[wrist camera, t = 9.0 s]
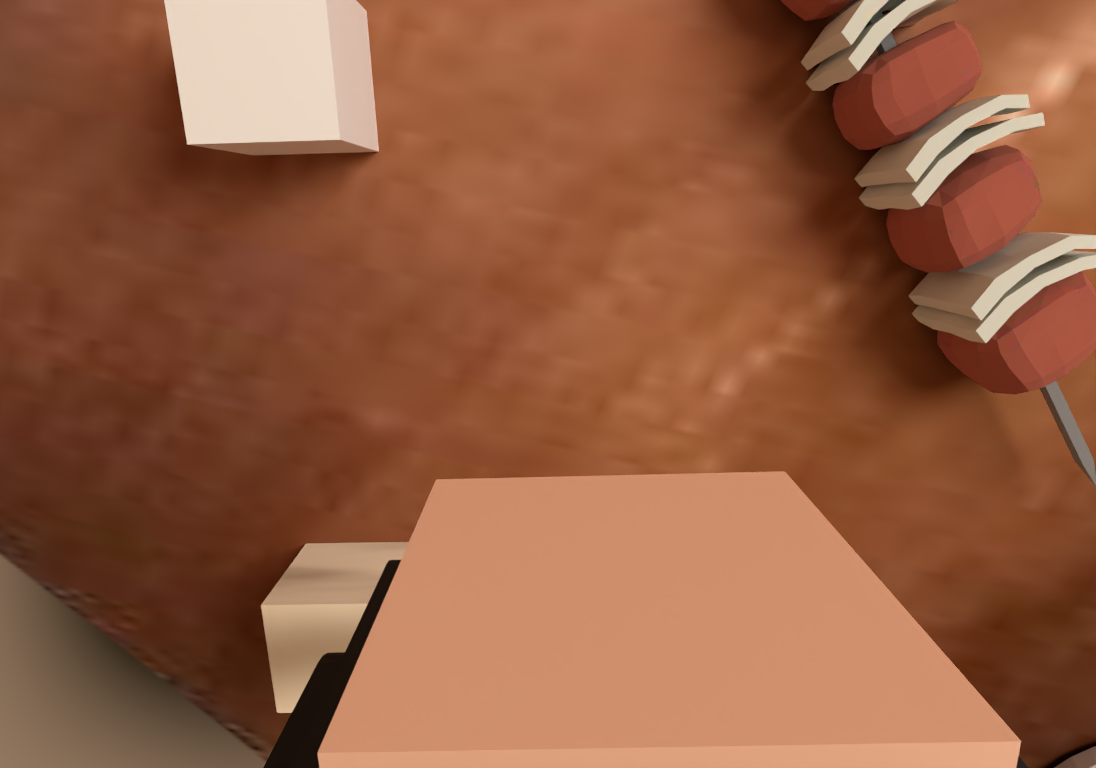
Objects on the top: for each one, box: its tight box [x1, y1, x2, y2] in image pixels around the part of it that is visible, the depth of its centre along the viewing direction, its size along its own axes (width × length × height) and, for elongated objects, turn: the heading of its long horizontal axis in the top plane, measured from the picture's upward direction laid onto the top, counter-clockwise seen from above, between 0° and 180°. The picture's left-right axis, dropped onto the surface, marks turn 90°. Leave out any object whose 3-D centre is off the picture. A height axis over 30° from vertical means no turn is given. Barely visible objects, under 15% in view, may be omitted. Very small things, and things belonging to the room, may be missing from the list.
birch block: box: [261, 542, 409, 713], centre depth 29 cm, size 5×5×5 cm
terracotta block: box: [317, 472, 1021, 768], centre depth 8 cm, size 5×5×5 cm
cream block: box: [164, 0, 379, 156], centre depth 23 cm, size 5×5×5 cm
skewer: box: [780, 0, 1096, 486], centre depth 24 cm, size 5×5×30 cm
